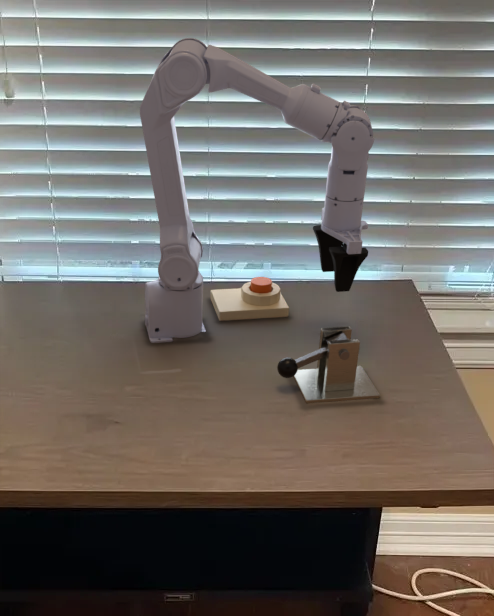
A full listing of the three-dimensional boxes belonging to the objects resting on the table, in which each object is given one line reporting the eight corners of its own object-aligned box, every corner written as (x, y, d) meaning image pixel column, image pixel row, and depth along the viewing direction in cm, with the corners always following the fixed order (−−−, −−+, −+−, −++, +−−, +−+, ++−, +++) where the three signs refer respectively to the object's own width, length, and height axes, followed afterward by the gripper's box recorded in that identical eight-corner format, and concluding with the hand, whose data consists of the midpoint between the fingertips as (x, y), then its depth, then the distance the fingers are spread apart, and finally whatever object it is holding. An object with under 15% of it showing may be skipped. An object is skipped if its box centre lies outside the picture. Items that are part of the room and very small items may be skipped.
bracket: (305, 406, 133) (311, 352, 128) (290, 375, 140) (295, 323, 135) (379, 400, 134) (387, 346, 129) (360, 370, 142) (367, 318, 136)
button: (252, 295, 157) (253, 285, 156) (248, 286, 160) (248, 277, 159) (273, 294, 157) (274, 284, 156) (268, 285, 160) (269, 276, 159)
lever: (283, 384, 134) (277, 368, 132) (278, 374, 136) (272, 358, 135) (353, 355, 133) (348, 338, 131) (347, 345, 135) (342, 329, 133)
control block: (219, 321, 156) (219, 302, 154) (210, 298, 163) (210, 280, 161) (288, 316, 157) (290, 297, 155) (276, 294, 164) (277, 276, 162)
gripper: (386, 210, 132) (374, 298, 140) (355, 178, 143) (346, 261, 151) (339, 213, 131) (329, 301, 139) (311, 180, 143) (304, 263, 150)
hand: (335, 280), depth 145 cm, fingers open, 7 cm apart
